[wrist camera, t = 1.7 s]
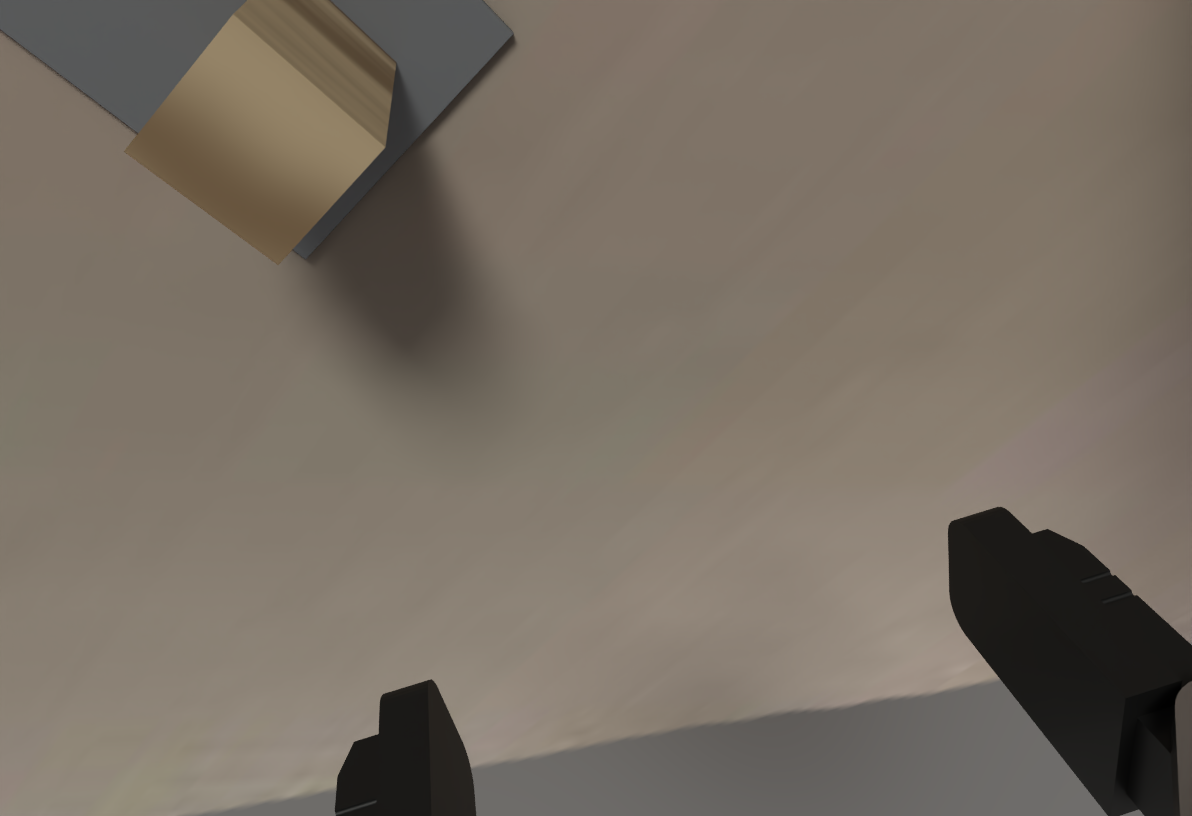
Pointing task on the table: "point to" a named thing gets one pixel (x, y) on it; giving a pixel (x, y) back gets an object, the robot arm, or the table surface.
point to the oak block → (273, 120)
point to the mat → (196, 15)
